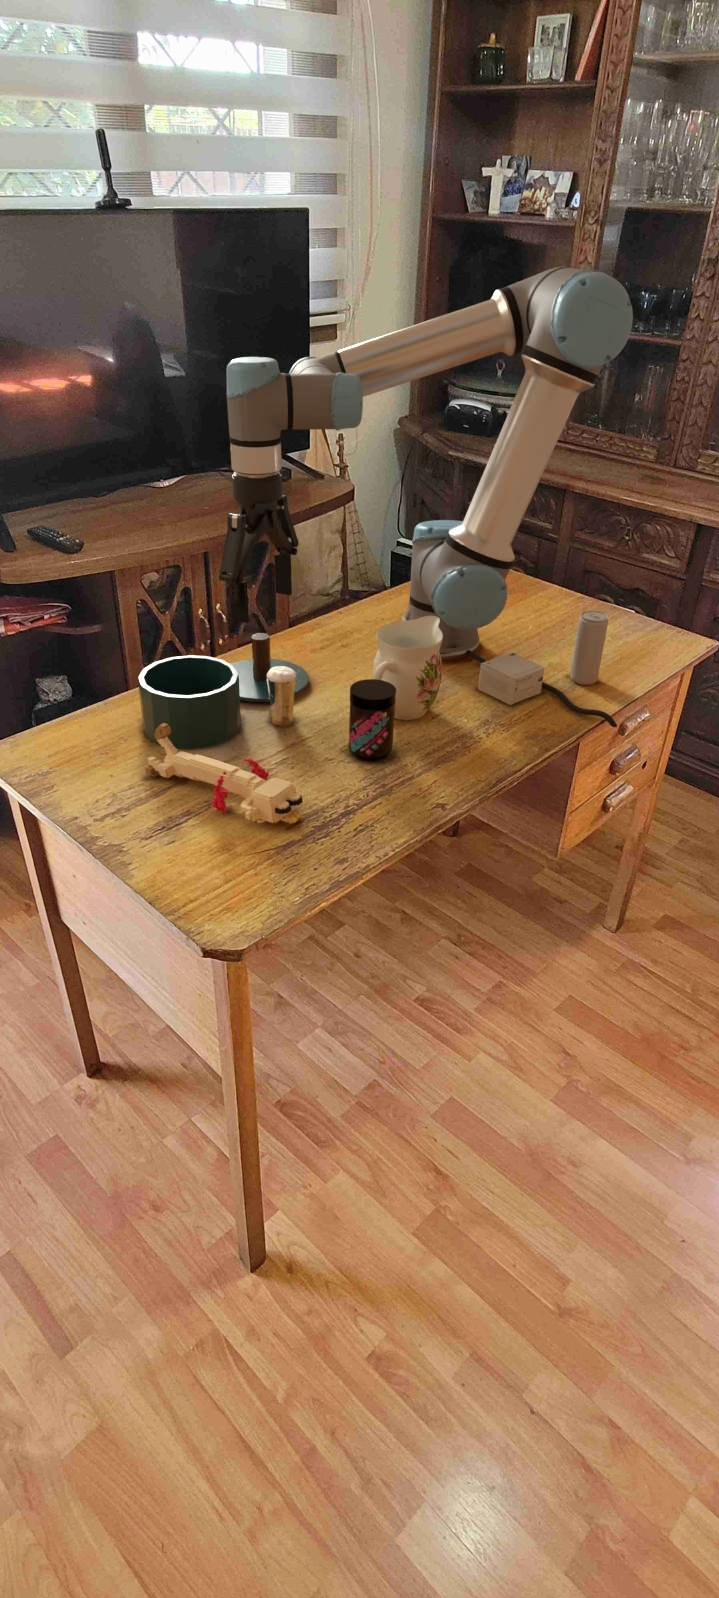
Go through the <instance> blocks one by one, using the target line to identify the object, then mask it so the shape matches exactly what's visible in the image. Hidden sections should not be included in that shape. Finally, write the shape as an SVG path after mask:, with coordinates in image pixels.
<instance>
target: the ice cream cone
mask: <svg viewBox="0 0 719 1598" xmlns="http://www.w3.org/2000/svg"><path fill="white" fill-rule="evenodd" d="M299 666H300V667H301V668H302V665H299ZM299 669H300V668H299ZM298 671H299V670H298ZM297 673H298V672H297ZM296 675H297V674H296V673H295V671H294V670H293V669H291V668H289V667H286V666H276V667H273V668H271V669H270V670H269V671H268V673H267V683H268V690H269V696H270V701H269V703H270V704H269V705H270V712H271V722H272V724H274V725H275V726H277V727H278V726H279V727H286V726H289V725H290V724H292V723H293V720H294V719H293V718H294V704H295V696H294V692H295V683H296Z"/></svg>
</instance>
